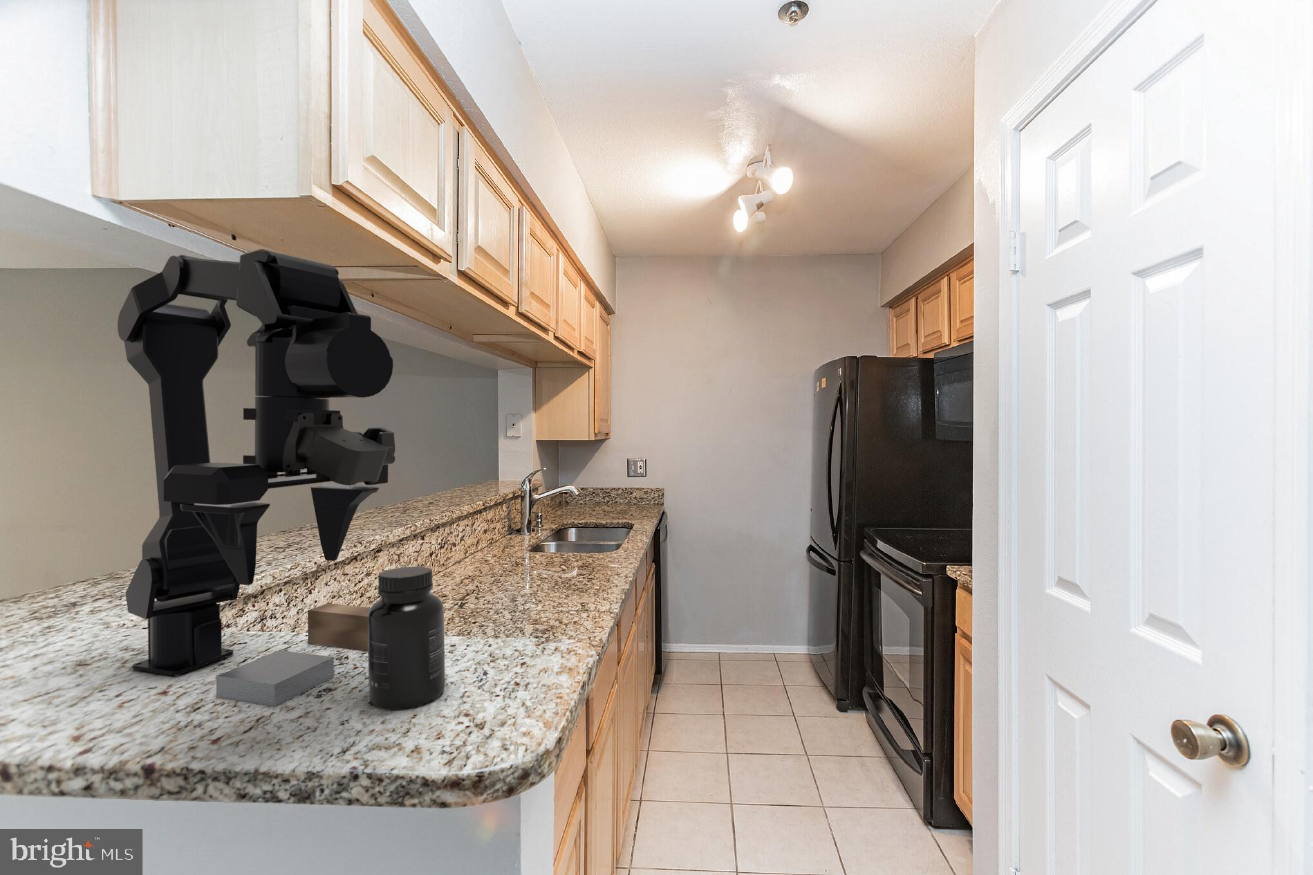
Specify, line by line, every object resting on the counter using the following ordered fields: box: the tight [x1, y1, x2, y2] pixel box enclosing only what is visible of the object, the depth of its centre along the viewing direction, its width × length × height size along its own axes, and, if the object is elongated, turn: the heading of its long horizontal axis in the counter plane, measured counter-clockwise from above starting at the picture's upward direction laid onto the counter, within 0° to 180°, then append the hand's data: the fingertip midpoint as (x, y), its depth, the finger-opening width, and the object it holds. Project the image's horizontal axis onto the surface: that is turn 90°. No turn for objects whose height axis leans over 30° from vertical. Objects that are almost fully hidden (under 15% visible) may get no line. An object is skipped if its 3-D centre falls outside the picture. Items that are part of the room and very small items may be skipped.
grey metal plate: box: [215, 649, 335, 708], centre depth 60 cm, size 7×7×2 cm
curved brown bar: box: [307, 603, 371, 652], centre depth 72 cm, size 14×3×4 cm, turn 74°
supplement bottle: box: [367, 566, 446, 710], centre depth 58 cm, size 7×7×12 cm
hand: (292, 571), depth 55 cm, fingers open, 9 cm apart
